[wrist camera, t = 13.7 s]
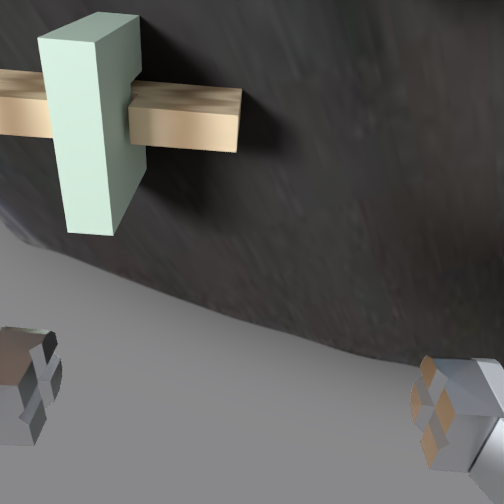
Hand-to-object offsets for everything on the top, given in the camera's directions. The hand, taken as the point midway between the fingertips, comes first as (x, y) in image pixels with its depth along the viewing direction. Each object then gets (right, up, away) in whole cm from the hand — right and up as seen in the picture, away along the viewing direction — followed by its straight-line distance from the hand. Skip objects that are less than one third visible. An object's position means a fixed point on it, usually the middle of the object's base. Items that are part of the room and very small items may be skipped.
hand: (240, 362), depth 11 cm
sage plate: (-12, +17, +34) cm, 39 cm away
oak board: (-12, +17, +33) cm, 39 cm away
